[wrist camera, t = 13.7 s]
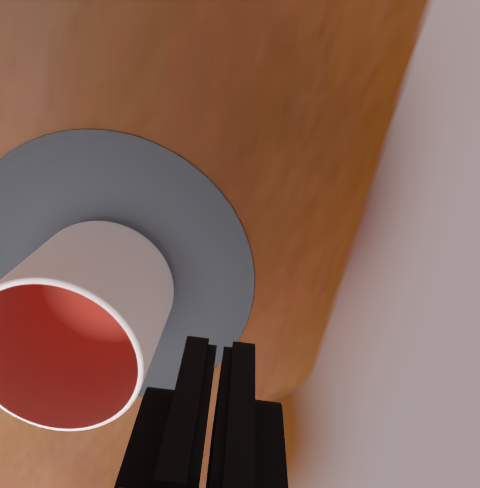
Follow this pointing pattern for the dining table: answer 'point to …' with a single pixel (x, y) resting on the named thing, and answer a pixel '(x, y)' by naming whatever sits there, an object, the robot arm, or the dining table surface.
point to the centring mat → (136, 227)
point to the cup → (81, 326)
